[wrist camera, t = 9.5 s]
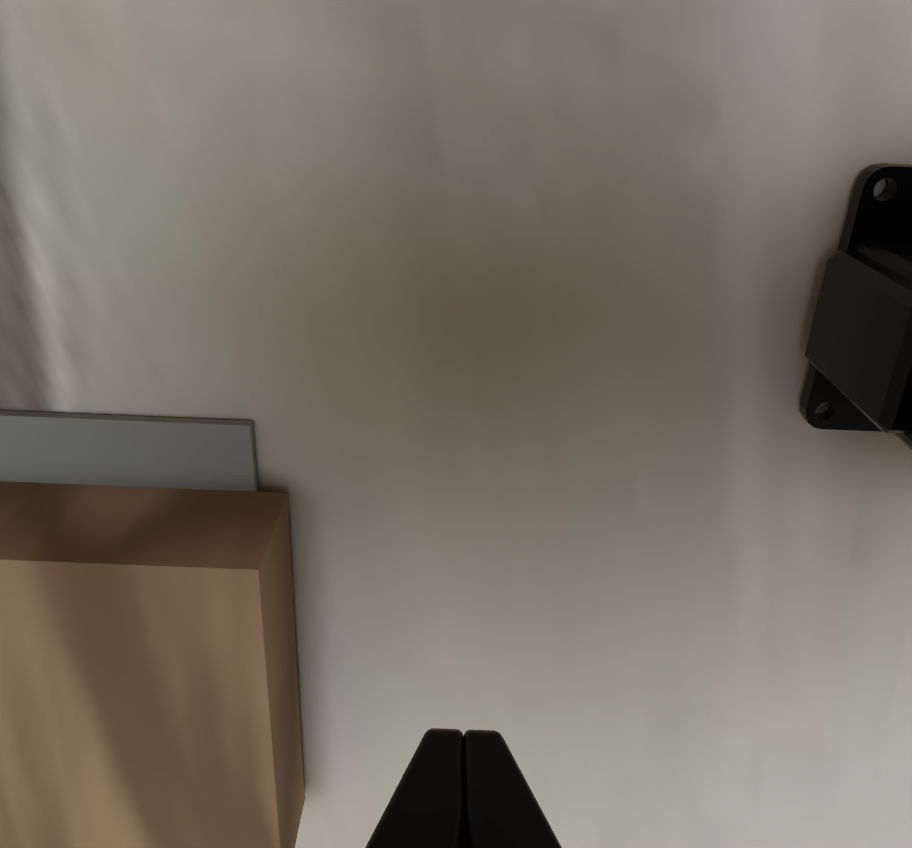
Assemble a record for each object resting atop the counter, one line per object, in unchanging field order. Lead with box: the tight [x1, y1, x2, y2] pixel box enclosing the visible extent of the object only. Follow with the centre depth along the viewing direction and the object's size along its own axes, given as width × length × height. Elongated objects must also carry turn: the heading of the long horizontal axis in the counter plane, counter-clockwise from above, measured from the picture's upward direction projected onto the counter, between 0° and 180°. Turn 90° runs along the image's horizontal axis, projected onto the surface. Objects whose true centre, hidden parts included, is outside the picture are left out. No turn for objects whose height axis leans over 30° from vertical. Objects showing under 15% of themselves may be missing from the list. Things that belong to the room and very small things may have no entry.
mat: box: [0, 410, 258, 492], centre depth 25 cm, size 11×16×1 cm
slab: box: [0, 481, 305, 848], centre depth 23 cm, size 4×12×9 cm
